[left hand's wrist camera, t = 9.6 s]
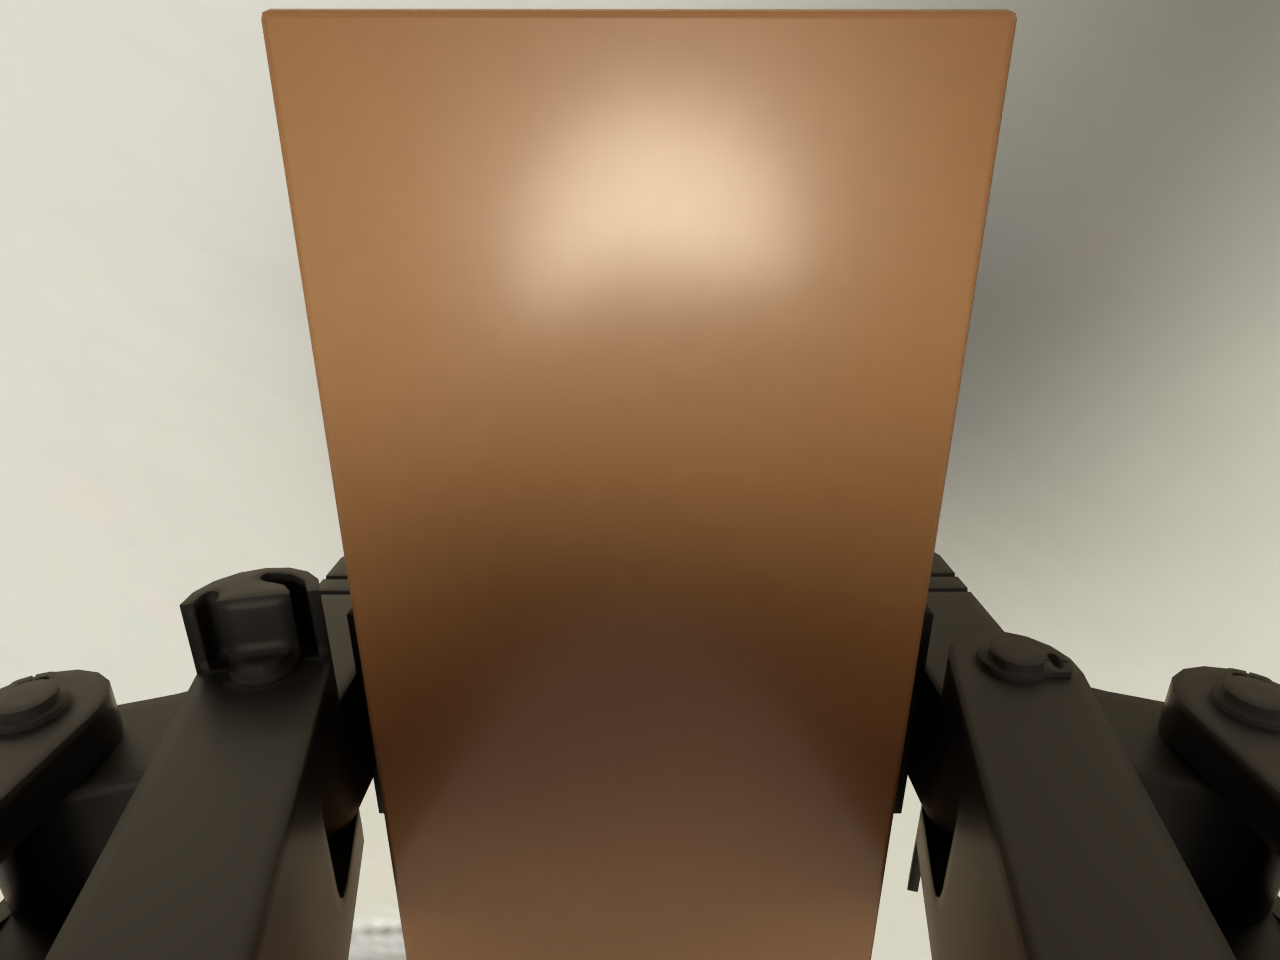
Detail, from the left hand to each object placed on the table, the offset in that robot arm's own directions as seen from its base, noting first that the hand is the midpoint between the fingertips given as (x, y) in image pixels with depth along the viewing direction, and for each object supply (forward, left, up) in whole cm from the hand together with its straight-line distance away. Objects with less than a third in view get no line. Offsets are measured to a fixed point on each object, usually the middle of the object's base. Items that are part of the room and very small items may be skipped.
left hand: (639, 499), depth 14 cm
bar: (+3, +23, 0) cm, 23 cm away
